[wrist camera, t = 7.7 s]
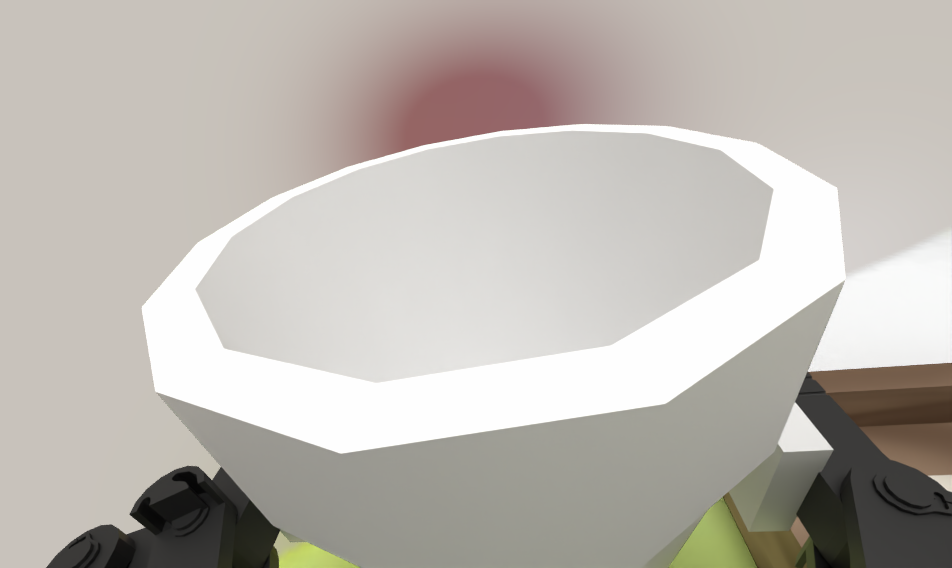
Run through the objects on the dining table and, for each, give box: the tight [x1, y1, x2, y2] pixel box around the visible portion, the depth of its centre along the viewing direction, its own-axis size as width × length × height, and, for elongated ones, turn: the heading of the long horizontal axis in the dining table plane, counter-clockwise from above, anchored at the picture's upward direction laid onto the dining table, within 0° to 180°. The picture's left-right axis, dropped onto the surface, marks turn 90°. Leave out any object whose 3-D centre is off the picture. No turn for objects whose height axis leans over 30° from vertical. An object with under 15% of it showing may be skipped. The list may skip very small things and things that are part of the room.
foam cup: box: [142, 124, 846, 568], centre depth 10 cm, size 10×9×13 cm
